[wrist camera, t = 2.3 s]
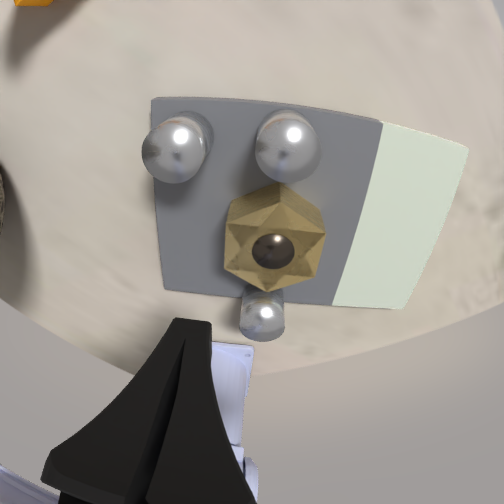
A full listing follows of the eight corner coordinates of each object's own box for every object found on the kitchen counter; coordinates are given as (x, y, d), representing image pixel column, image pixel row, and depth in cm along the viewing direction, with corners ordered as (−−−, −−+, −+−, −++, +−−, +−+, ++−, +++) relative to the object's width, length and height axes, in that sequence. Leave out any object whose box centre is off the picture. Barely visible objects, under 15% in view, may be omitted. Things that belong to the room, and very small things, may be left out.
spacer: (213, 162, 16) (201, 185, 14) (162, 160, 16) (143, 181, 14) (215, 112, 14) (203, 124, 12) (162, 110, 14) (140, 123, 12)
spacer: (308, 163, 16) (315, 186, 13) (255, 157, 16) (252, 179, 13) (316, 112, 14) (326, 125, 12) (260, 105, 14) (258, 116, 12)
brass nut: (306, 269, 20) (309, 296, 18) (228, 261, 20) (223, 288, 18) (324, 186, 16) (332, 208, 14) (232, 176, 16) (226, 197, 14)
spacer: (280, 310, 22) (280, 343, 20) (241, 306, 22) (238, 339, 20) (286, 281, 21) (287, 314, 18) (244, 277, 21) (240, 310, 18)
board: (399, 300, 23) (403, 309, 22) (168, 280, 22) (164, 289, 22) (461, 144, 15) (469, 149, 14) (157, 97, 15) (151, 99, 14)
